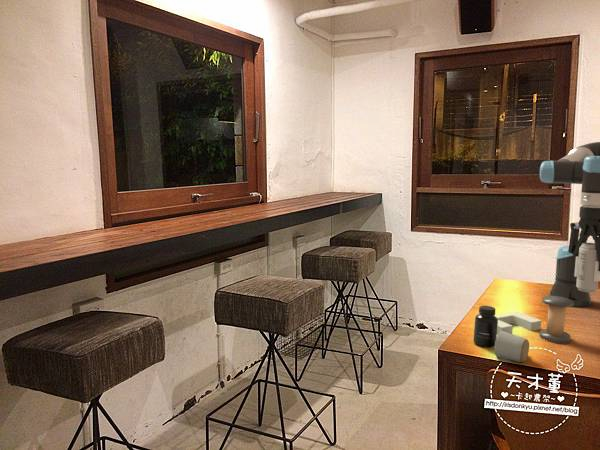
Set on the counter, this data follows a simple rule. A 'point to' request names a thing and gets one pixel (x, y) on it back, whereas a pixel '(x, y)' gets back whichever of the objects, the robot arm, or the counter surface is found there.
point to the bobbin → (556, 319)
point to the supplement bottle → (485, 327)
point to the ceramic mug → (511, 347)
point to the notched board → (517, 322)
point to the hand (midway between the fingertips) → (587, 278)
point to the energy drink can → (587, 268)
